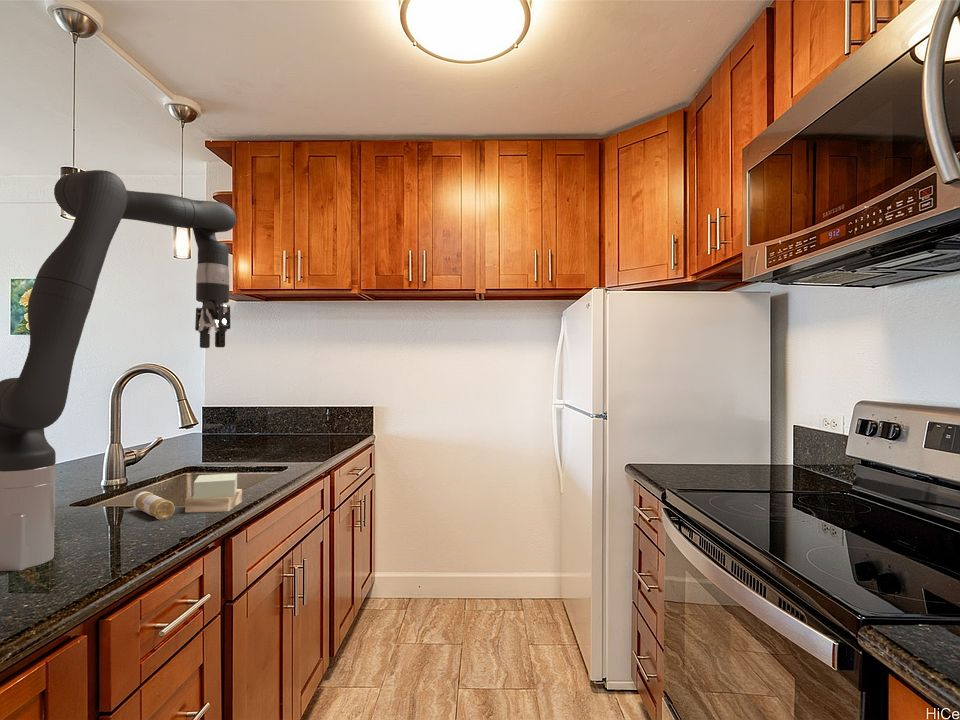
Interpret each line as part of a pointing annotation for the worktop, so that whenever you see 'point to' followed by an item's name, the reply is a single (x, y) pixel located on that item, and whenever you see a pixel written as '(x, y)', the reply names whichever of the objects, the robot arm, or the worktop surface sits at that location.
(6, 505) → the robot arm
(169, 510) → the sprinkles bottle
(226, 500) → the tower base
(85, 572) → the worktop surface
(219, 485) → the tower top
